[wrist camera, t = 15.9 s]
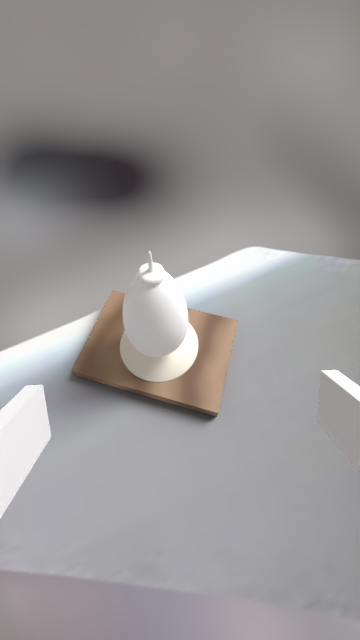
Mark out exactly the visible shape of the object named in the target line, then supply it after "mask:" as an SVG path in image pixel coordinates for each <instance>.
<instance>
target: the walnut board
mask: <svg viewBox="0 0 360 640" xmlns="http://www.w3.org/2000/svg"><path fill="white" fill-rule="evenodd" d="M125 294H126V293H122V292H118V291H114V290H113V291H112V292H111V294H110V296H109V298H108V300H107V302H106V304H105V306H104V308H103V310H102V312H101V314H100V316H99V318H98V320H97V322H96V324H95V326H94V328H93V330H92V332H91V334H90V336H89V338H88V340H87V342H86V344H85V346H84V348H83V350H82V352H81V354H80V356H79V358H78V360H77V362H76V364H75V366H74V368H73V370H72V372H73V373H74V374H75V375H76V376H77V377H80V378H84V379H87V380H91V381H94V382H98V383H101V384H105V385H108V386H112V387H115V388H118V389H122V390H125V391H129V392H132V393H136V394H139V395H143V396H146V397H150V398H153V399H156V400H160V401H163V402H167V403H170V404H174V405H177V406H181V407H184V408H188V409H191V410H195V411H198V412H201V413H205V414H208V415H212V416H215V417H217V415H218V413H219V408H220V404H221V399H222V394H223V389H224V385H225V380H226V375H227V371H228V366H229V361H230V357H231V352H232V347H233V342H234V338H235V333H236V328H237V324H238V320H233V319H229V318H225V317H221V316H217V315H213V314H209V313H205V312H200V311H196V310H192V309H188V308H187V310H188V329H187V334H186V336H185V339H184V341H183V343H182V344H181V345H180V346H179V348H178V349H176V350H175V351H174V352H172V353H170V354H168V355H166V356H162V357H149V356H146V355H143V354H142V353H140V352H139V351H137V350H136V349H135V347H134V346H133V345H132V344H131V342H130V340H129V339H128V337H127V334H126V331H125V328H124V324H123V315H122V311H123V301H124V297H125Z"/></svg>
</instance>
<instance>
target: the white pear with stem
mask: <svg viewBox="0 0 360 640" xmlns="http://www.w3.org/2000/svg"><path fill="white" fill-rule="evenodd" d="M122 315H123V324H124V328H125V331H126V334H127V337H128V339H129V340H130V342H131V344H132V345H133V346H134V347H135V349H136V350H137V351H139V352H140V353H142V354H143V355H146V356H149V357H162V356H166V355H168V354H170V353H172V352H174V351H175V350H176V349H178V348H179V346H180V345H181V344H182V343H183V341H184V339H185V336H186V334H187V329H188V310H187V305H186V302H185V298H184V296H183V294H182V292H181V290H180V288H179V286H178V284H177V283H176V282H175V280H174V279H173V278H172V277H171V276H170V275H169V274H168V273H167V272H166V271H164V269H163V267H162V266H161V265H160V264H158V263H153V261H152V255H151V252H150V251H148V263H146V264H144V265H142V266H141V267H140V268H139V271H138V273H137V274H136V276H134V278H133V279H132V281H131V282H130V284H129V286H128V288H127V291H126V294H125V297H124V301H123V311H122Z"/></svg>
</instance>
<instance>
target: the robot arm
mask: <svg viewBox="0 0 360 640" xmlns="http://www.w3.org/2000/svg"><path fill="white" fill-rule="evenodd" d="M317 423H318V424H319V425H320V426H321V428H322V429H323V430H324V431H325V432H326V433H327V435H328V436H329V437H330V438H331V439H332V440H333V442H334V443H335V444H336V445H337V446H338V447H339V449H340V450H341V451H342V452H343V453H344V454H345V456H346V457H347V458H348V459H349V460H350V461H351V463H352V464H353V465H354V466H355V467H356V468H357V470H358V471H359V472H360V386H358V385H357V384H356V383H354V382H353V381H352V380H350V379H349V378H347V377H346V376H345V375H343V374H342V373H340V372H339V371H338V370H323V371H321V375H320V388H319V400H318V412H317ZM50 438H51V433H50V427H49V420H48V414H47V408H46V401H45V395H44V389H43V385H26V386H25V387H24V388H23V389H22V390H21V391H20V392H19V393H18V394H17V395H16V396H15V397H14V398H13V399H12V400H11V401H10V402H9V403H7V404H6V405H5V406H4V407H3V408H2V409H1V410H0V518H1V516H2V515H3V513H4V512H5V510H6V508H7V507H8V505H9V504H10V502H11V500H12V499H13V497H14V496H15V494H16V492H17V491H18V489H19V488H20V486H21V484H22V483H23V481H24V480H25V478H26V476H27V475H28V473H29V471H30V470H31V468H32V467H33V465H34V463H35V462H36V460H37V459H38V457H39V455H40V454H41V452H42V451H43V449H44V447H45V446H46V444H47V443H48V441H49V439H50Z"/></svg>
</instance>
